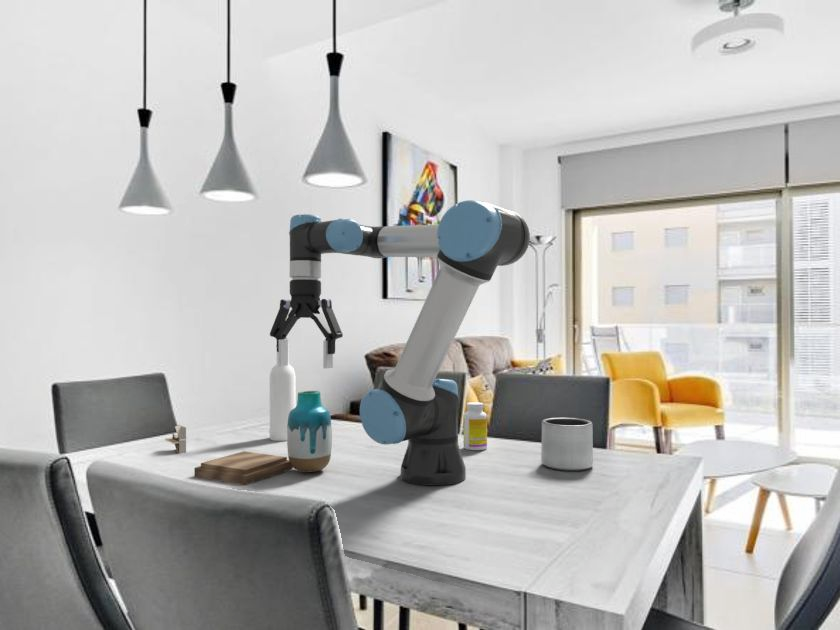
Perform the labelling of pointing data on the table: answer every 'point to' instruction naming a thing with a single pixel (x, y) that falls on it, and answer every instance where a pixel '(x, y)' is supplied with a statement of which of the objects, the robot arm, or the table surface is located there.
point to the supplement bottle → (475, 427)
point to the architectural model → (179, 439)
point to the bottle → (281, 399)
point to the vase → (309, 433)
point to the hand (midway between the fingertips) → (305, 367)
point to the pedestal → (243, 467)
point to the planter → (567, 444)
